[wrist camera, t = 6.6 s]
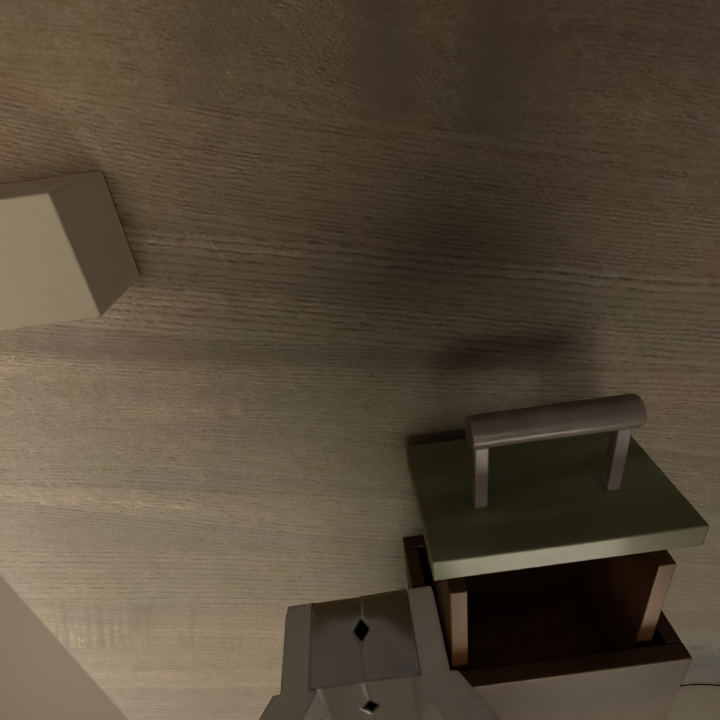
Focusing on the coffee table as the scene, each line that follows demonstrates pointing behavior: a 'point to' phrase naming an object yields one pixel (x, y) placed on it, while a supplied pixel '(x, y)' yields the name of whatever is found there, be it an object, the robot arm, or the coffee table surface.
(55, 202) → the block
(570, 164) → the coffee table surface
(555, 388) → the coffee table surface
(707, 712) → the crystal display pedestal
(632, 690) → the cabinet
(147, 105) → the coffee table surface
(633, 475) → the drawer
